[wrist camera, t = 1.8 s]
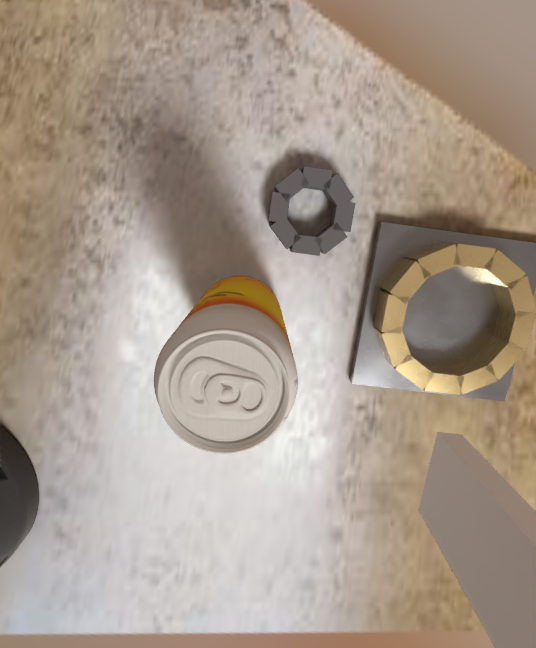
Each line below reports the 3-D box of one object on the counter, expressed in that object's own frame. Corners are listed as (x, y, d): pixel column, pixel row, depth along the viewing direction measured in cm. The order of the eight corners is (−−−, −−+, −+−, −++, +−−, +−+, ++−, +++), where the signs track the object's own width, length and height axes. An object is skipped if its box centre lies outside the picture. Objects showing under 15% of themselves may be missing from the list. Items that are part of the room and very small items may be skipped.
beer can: (206, 267, 30) (159, 305, 16) (288, 284, 31) (315, 336, 16) (192, 346, 32) (136, 448, 17) (271, 361, 32) (282, 473, 18)
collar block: (349, 379, 33) (357, 393, 30) (378, 222, 30) (390, 221, 27) (498, 397, 33) (520, 412, 31) (539, 243, 31) (567, 245, 28)
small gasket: (264, 247, 30) (265, 248, 29) (275, 165, 29) (276, 162, 28) (341, 257, 31) (345, 258, 29) (355, 176, 29) (360, 174, 28)
